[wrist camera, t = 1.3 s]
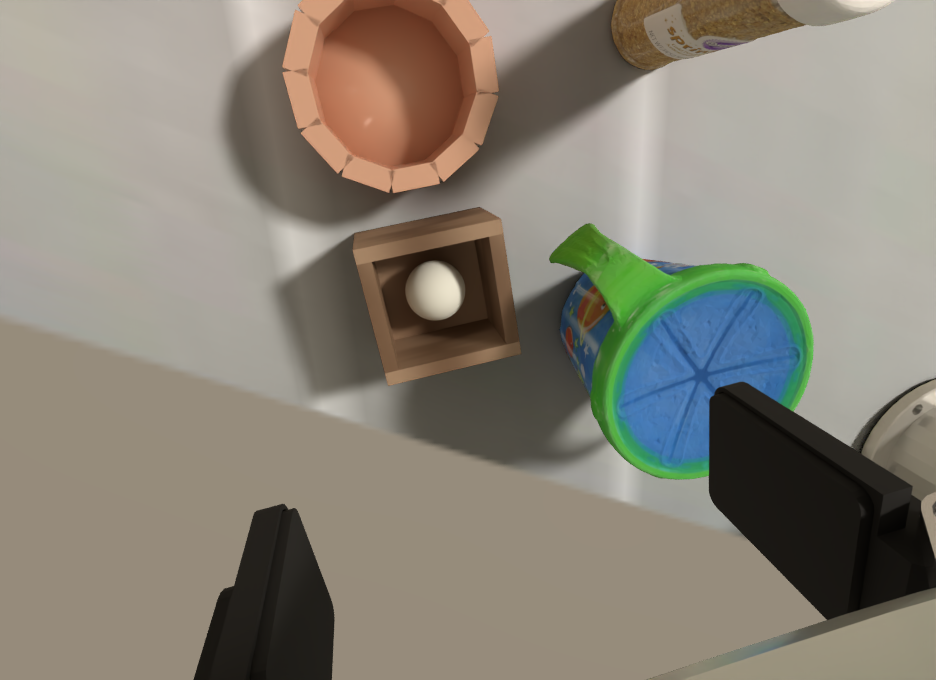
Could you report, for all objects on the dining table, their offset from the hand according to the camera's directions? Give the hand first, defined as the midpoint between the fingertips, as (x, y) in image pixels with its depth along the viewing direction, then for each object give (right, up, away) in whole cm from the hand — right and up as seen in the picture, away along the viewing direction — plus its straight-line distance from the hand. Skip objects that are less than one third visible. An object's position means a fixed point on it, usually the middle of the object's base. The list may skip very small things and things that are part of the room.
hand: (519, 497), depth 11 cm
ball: (-3, +7, +18) cm, 20 cm away
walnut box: (-3, +7, +19) cm, 20 cm away
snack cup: (+8, +5, +22) cm, 24 cm away
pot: (-5, +16, +15) cm, 22 cm away
